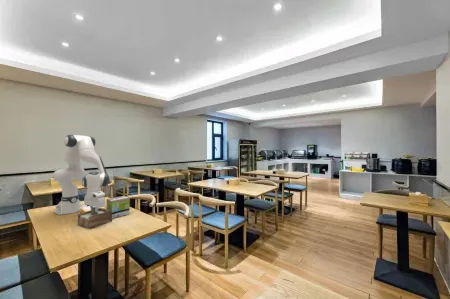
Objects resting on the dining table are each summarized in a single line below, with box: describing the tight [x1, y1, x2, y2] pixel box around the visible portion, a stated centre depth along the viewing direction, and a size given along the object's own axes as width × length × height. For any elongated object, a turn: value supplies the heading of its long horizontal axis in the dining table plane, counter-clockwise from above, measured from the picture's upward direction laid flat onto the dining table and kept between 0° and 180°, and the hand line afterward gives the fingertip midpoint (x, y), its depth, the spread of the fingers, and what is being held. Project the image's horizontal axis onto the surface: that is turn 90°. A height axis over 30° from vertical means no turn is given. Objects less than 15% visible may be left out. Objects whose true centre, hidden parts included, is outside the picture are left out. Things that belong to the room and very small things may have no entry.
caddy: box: [77, 207, 113, 230], centre depth 152 cm, size 15×16×8 cm
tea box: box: [105, 195, 131, 220], centre depth 169 cm, size 15×10×15 cm, turn 143°
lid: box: [80, 206, 104, 219], centre depth 151 cm, size 13×13×6 cm
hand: (94, 211), depth 151 cm, fingers closed on lid, 3 cm apart
